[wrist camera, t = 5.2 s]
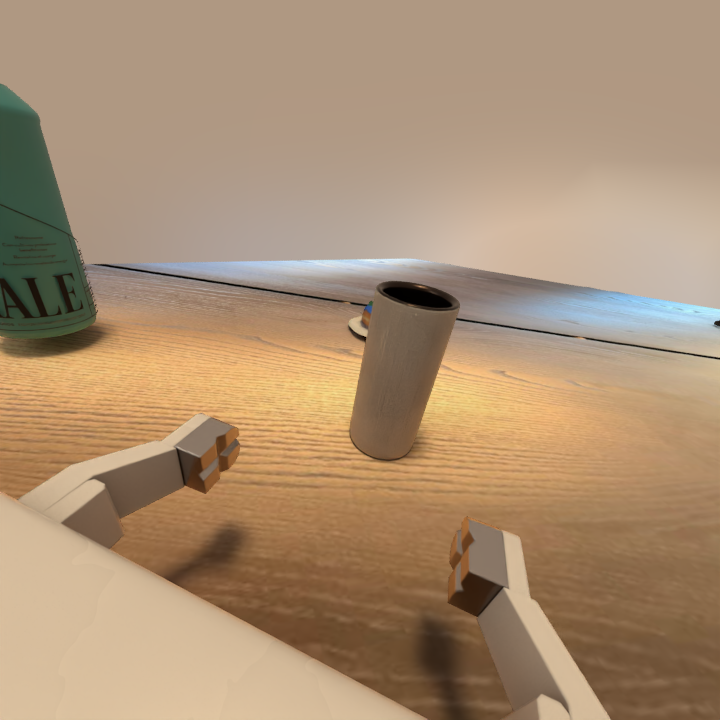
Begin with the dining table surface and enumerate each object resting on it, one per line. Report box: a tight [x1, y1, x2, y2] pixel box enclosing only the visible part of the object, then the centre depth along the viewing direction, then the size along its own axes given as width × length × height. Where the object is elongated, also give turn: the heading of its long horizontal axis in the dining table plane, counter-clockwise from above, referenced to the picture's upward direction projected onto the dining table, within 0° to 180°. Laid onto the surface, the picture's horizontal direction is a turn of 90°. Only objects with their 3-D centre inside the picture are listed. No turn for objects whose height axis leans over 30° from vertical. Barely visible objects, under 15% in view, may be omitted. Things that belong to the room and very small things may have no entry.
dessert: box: [348, 301, 373, 337], centre depth 36 cm, size 8×7×6 cm
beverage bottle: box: [0, 84, 98, 339], centre depth 19 cm, size 6×7×20 cm
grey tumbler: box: [350, 281, 460, 460], centre depth 18 cm, size 4×4×10 cm
